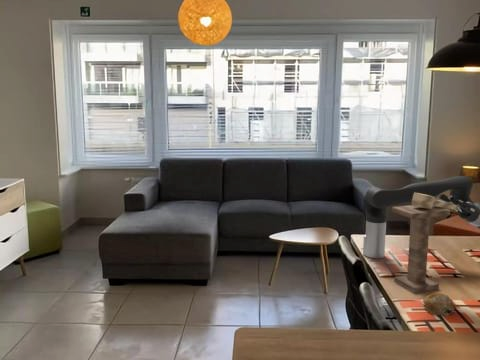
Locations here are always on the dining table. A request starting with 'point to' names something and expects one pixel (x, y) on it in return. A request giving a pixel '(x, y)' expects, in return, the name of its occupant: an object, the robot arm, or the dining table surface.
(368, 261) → the dining table surface
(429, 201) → the mallet
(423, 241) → the stand
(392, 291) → the dining table surface
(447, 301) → the bread roll
